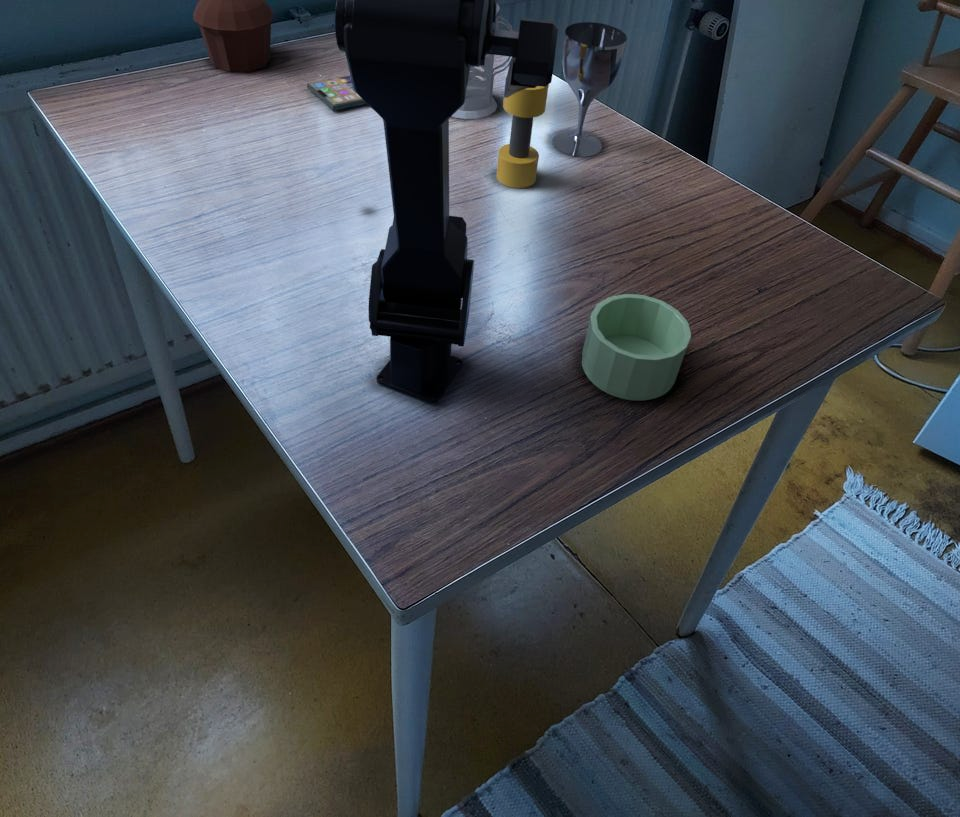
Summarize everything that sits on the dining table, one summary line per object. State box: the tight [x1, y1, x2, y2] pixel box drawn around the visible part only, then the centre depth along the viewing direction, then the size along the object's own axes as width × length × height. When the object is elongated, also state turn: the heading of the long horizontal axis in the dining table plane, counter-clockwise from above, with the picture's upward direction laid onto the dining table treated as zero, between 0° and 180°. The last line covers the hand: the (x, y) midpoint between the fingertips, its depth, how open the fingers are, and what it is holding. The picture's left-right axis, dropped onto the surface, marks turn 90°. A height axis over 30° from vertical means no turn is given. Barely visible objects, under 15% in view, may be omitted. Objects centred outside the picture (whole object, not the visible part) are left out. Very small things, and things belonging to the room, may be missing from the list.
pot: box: [581, 293, 692, 402], centre depth 77 cm, size 10×10×6 cm
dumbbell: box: [495, 75, 550, 189], centre depth 98 cm, size 5×5×13 cm
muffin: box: [192, 0, 275, 73], centre depth 118 cm, size 12×11×10 cm
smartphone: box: [306, 75, 368, 111], centre depth 117 cm, size 8×15×1 cm, turn 125°
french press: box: [450, 3, 514, 120], centre depth 108 cm, size 10×12×25 cm
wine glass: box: [551, 21, 628, 158], centre depth 105 cm, size 8×8×15 cm
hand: (465, 89), depth 89 cm, fingers open, 9 cm apart
